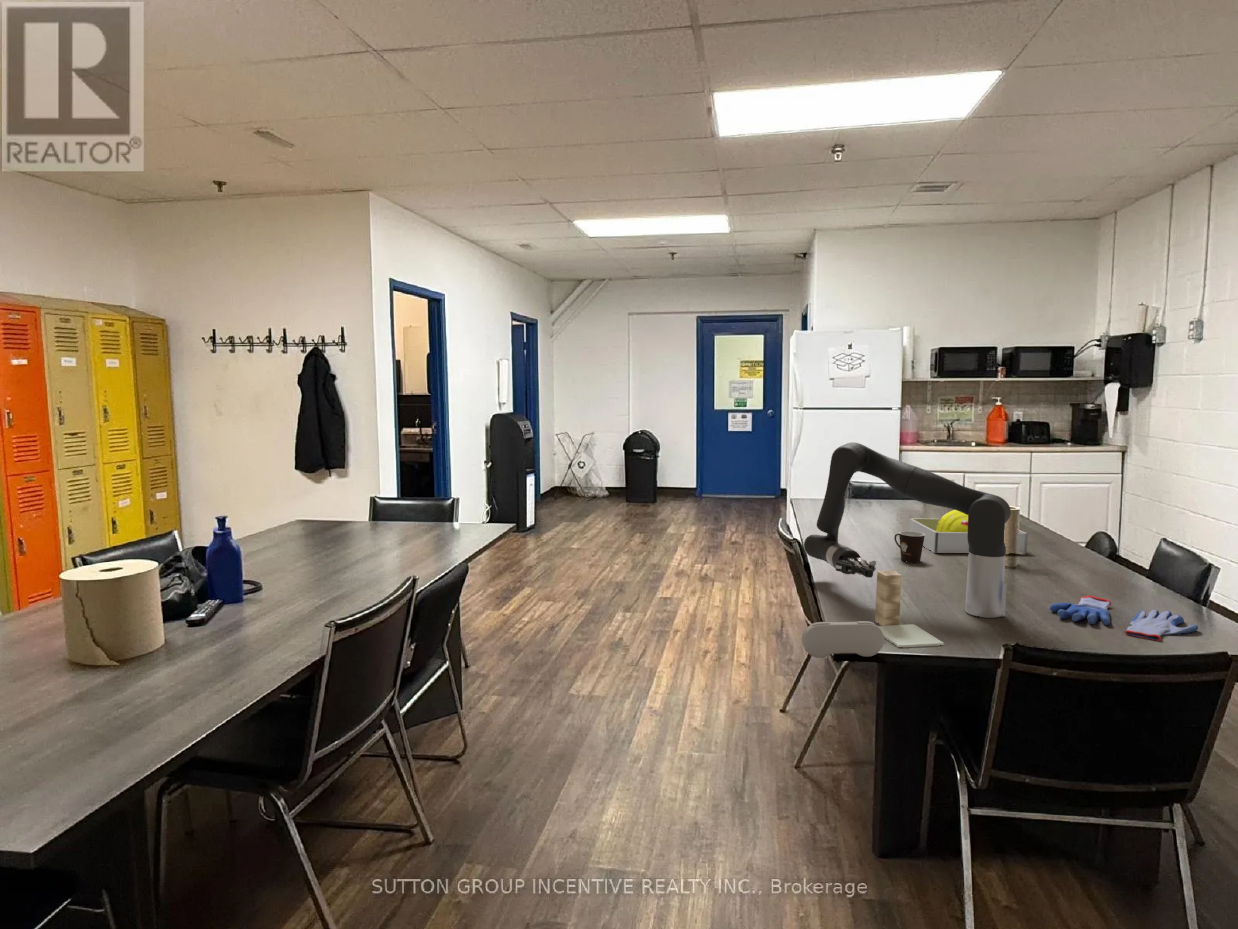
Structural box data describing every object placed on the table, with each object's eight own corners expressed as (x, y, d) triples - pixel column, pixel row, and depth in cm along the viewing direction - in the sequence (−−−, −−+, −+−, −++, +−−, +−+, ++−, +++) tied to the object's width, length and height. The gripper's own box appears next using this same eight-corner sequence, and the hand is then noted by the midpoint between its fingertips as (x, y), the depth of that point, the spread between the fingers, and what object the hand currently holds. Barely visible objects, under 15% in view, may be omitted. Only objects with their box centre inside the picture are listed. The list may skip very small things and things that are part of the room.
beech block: (890, 620, 201) (892, 570, 200) (899, 626, 197) (901, 575, 195) (875, 621, 201) (877, 571, 199) (883, 627, 196) (885, 575, 195)
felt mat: (871, 628, 195) (871, 626, 195) (913, 626, 197) (913, 624, 196) (898, 647, 181) (898, 645, 181) (943, 645, 183) (943, 643, 183)
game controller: (879, 653, 178) (881, 619, 177) (883, 656, 176) (885, 622, 175) (800, 655, 177) (801, 621, 176) (803, 658, 174) (804, 624, 174)
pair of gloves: (1203, 626, 199) (1205, 613, 198) (1183, 650, 181) (1184, 636, 181) (1070, 600, 222) (1071, 588, 222) (1041, 619, 205) (1042, 606, 204)
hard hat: (919, 539, 302) (921, 503, 301) (987, 542, 297) (989, 505, 295) (929, 550, 283) (931, 512, 281) (1002, 554, 278) (1005, 515, 276)
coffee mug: (927, 564, 262) (928, 536, 261) (902, 563, 263) (904, 536, 261) (914, 556, 274) (916, 529, 273) (891, 555, 274) (892, 529, 273)
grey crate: (991, 538, 304) (992, 519, 303) (1026, 554, 277) (1027, 533, 276) (907, 537, 306) (908, 518, 305) (934, 553, 278) (935, 532, 277)
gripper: (822, 547, 223) (848, 561, 206) (864, 546, 225) (893, 560, 208) (821, 571, 224) (847, 587, 207) (862, 570, 226) (891, 586, 209)
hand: (870, 574), depth 207 cm, fingers closed
